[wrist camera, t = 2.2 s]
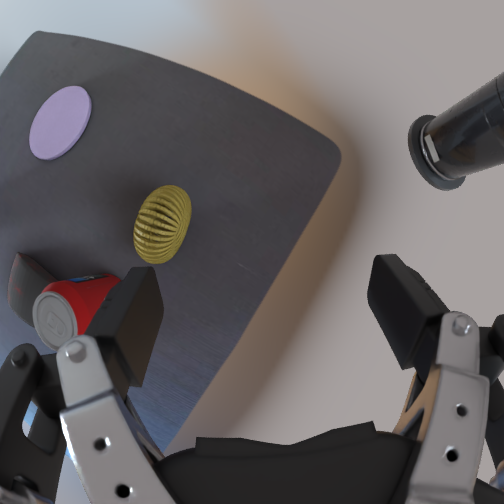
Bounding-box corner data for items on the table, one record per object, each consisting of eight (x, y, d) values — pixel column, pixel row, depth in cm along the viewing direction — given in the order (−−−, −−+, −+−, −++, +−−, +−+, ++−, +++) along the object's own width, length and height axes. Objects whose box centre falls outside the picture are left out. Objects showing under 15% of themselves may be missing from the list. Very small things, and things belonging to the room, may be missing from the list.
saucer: (75, 76, 30) (72, 73, 29) (105, 115, 30) (102, 112, 29) (25, 131, 30) (22, 129, 29) (47, 177, 30) (43, 175, 29)
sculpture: (170, 189, 30) (147, 170, 22) (202, 200, 31) (187, 183, 23) (146, 254, 30) (116, 256, 22) (177, 267, 31) (155, 273, 23)
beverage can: (101, 262, 30) (39, 267, 18) (143, 293, 30) (92, 316, 18) (81, 305, 30) (21, 326, 18) (120, 337, 30) (69, 374, 18)
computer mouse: (23, 245, 30) (5, 244, 26) (83, 293, 30) (66, 298, 26) (11, 291, 30) (-6, 294, 26) (68, 342, 30) (53, 351, 26)
